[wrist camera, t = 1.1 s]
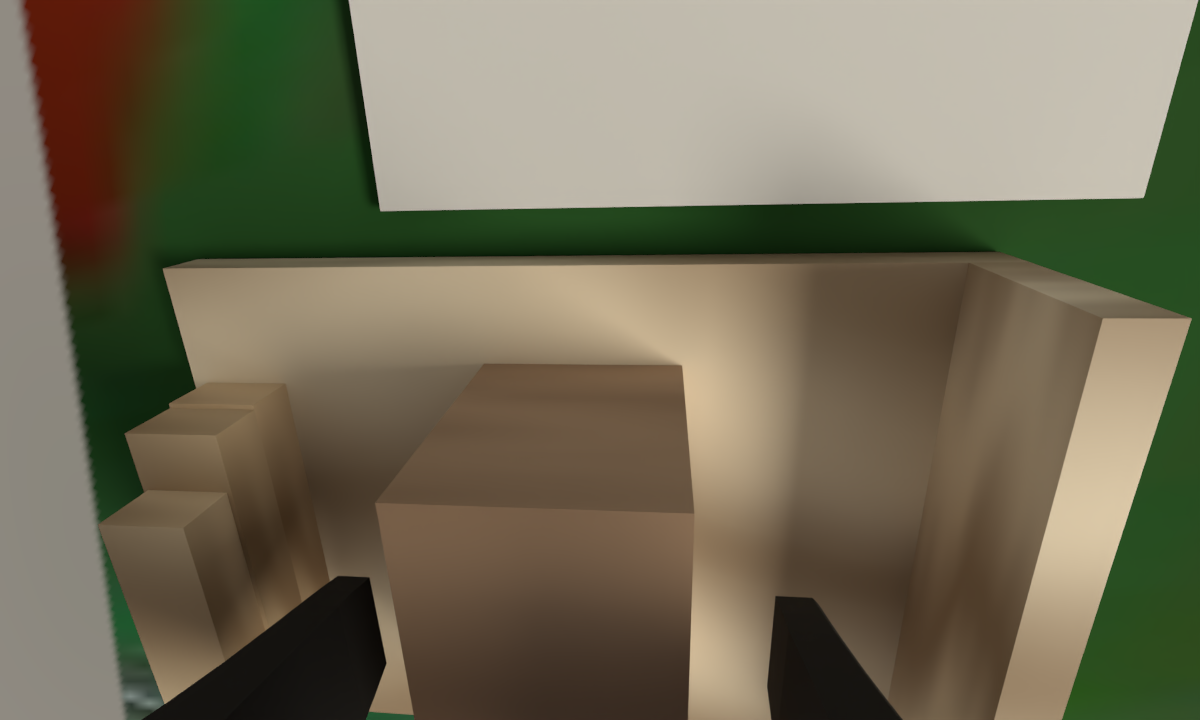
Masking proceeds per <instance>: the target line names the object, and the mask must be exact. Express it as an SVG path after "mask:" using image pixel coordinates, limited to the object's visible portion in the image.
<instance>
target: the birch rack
mask: <svg viewBox="0 0 1200 720" xmlns="http://www.w3.org/2000/svg"><path fill="white" fill-rule="evenodd" d="M163 272H164V275H165V279H166V282H167V286H168V290H169V293H170V297H171V300H172V304H173V307H174V311H175V314H176V318H177V322H178V325H179V329H180V332H181V336H182V339H183V343H184V347H185V350H186V354H187V357H188V361H189V364H190V368H191V372H192V375H193V379H194V382H195V386H196V389H197V388H198V387H200V386H202V385H204V384H206V383H274V384H286V388H287V392H288V397H289V401H290V405H291V410H292V414H293V419H294V423H295V428H296V432H297V437H298V441H299V446H300V450H301V454H302V459H303V463H304V468H305V472H306V477H307V481H308V486H309V490H310V495H311V499H312V504H313V508H314V512H315V517H316V521H317V526H318V530H319V535H320V539H321V544H322V548H323V553H324V557H325V561H326V566H327V570H328V575H329V579H330V581H331V580H333V579H334V578H335V577H337V576H353V577H370V582H371V587H372V592H373V597H374V602H375V607H376V612H377V617H378V622H379V627H380V632H381V637H382V642H383V647H384V652H385V657H386V662H387V664H386V667H385V669H384V672H383V675H382V678H381V680H380V683H379V686H378V689H377V692H376V694H375V697H374V700H373V702H372V705H371V707H370V710H369V712H382V713H396V714H410V715H414V714H413V708H412V703H411V697H410V692H409V687H408V681H407V676H406V670H405V665H404V659H403V654H402V648H401V643H400V637H399V632H398V626H397V621H396V615H395V610H394V604H393V599H392V593H391V588H390V582H389V577H388V571H387V566H386V560H385V555H384V549H383V544H382V538H381V533H380V527H379V522H378V516H377V511H376V506H375V502H376V501H377V500H378V499H379V497H380V496H381V495H382V493H383V492H384V491H385V490H386V488H387V487H388V486H389V485H390V483H391V482H392V481H393V479H394V478H395V477H396V476H397V474H398V473H399V472H400V470H401V469H402V468H403V467H404V465H405V464H406V463H407V462H408V460H409V459H410V458H411V456H412V455H413V454H414V453H415V451H416V450H417V449H418V447H419V446H420V445H421V444H422V442H423V441H424V440H425V439H426V437H427V436H428V435H429V433H430V432H431V431H432V430H433V428H434V427H435V426H436V424H437V423H438V422H439V421H440V419H441V418H442V417H443V416H444V414H445V413H446V412H447V410H448V409H449V408H450V407H451V405H452V404H453V403H454V401H455V400H456V399H457V398H458V396H459V395H460V394H461V393H462V391H463V390H464V389H465V387H466V386H467V385H468V384H469V382H470V381H471V380H472V378H473V377H474V376H475V375H476V373H477V372H478V371H479V370H480V368H481V367H482V366H483V364H581V365H682V369H683V381H684V393H685V405H686V417H687V429H688V441H689V454H690V466H691V478H692V490H693V502H694V545H693V577H692V608H691V640H690V671H689V703H688V720H771V714H770V706H769V698H768V690H767V681H768V670H769V660H770V649H771V638H772V627H773V617H774V606H775V596H786V597H807V598H813V599H814V600H815V601H816V602H817V603H818V604H819V605H820V607H821V608H822V610H823V612H824V613H825V615H826V616H827V618H828V619H829V621H830V622H831V623H832V625H833V626H834V628H835V629H836V631H837V632H838V634H839V635H840V637H841V638H842V639H843V641H844V642H845V644H846V645H847V647H848V648H849V649H850V651H851V652H852V654H853V655H854V656H855V658H856V659H857V661H858V662H859V663H860V665H861V666H862V667H863V669H864V670H865V671H866V673H867V674H868V676H869V677H870V678H871V680H872V681H873V682H874V684H875V685H876V686H877V687H878V689H879V690H880V691H881V693H882V694H883V695H884V696H885V698H886V699H887V700H888V701H889V703H890V704H891V705H892V707H893V708H894V709H895V710H896V712H897V713H898V714H899V716H900V717H901V718H902V719H903V720H1062V717H1063V714H1064V711H1065V708H1066V705H1067V702H1068V699H1069V696H1070V693H1071V689H1072V686H1073V683H1074V680H1075V677H1076V674H1077V671H1078V668H1079V665H1080V662H1081V659H1082V656H1083V652H1084V649H1085V646H1086V643H1087V640H1088V637H1089V634H1090V631H1091V628H1092V625H1093V622H1094V618H1095V615H1096V612H1097V609H1098V606H1099V603H1100V600H1101V597H1102V594H1103V591H1104V588H1105V585H1106V581H1107V578H1108V575H1109V572H1110V569H1111V566H1112V563H1113V560H1114V557H1115V554H1116V551H1117V548H1118V544H1119V541H1120V538H1121V535H1122V532H1123V529H1124V526H1125V523H1126V520H1127V517H1128V514H1129V511H1130V507H1131V504H1132V501H1133V498H1134V495H1135V492H1136V489H1137V486H1138V483H1139V480H1140V477H1141V473H1142V470H1143V467H1144V464H1145V461H1146V458H1147V455H1148V452H1149V449H1150V446H1151V443H1152V440H1153V436H1154V433H1155V430H1156V427H1157V424H1158V421H1159V418H1160V415H1161V412H1162V409H1163V406H1164V403H1165V399H1166V396H1167V393H1168V390H1169V387H1170V384H1171V381H1172V378H1173V375H1174V372H1175V369H1176V366H1177V362H1178V359H1179V356H1180V353H1181V350H1182V347H1183V344H1184V341H1185V338H1186V335H1187V332H1188V328H1189V325H1190V322H1191V319H1192V318H1189V317H1186V316H1183V315H1180V314H1177V313H1174V312H1171V311H1169V310H1166V309H1163V308H1160V307H1157V306H1154V305H1151V304H1148V303H1145V302H1143V301H1140V300H1137V299H1134V298H1131V297H1128V296H1125V295H1122V294H1120V293H1117V292H1114V291H1111V290H1108V289H1105V288H1102V287H1099V286H1097V285H1094V284H1091V283H1088V282H1085V281H1082V280H1079V279H1076V278H1073V277H1071V276H1068V275H1065V274H1062V273H1059V272H1056V271H1053V270H1050V269H1048V268H1045V267H1042V266H1039V265H1036V264H1033V263H1030V262H1027V261H1025V260H1022V259H1019V258H1016V257H1013V256H1010V255H1007V254H1004V253H1001V252H926V253H817V254H708V255H599V256H489V257H380V258H271V259H197V260H193V261H189V262H185V263H182V264H178V265H174V266H170V267H167V268H163Z"/></svg>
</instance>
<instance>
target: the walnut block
mask: <svg viewBox="0 0 1200 720" xmlns="http://www.w3.org/2000/svg"><path fill="white" fill-rule="evenodd" d="M375 506H376V511H377V516H378V522H379V527H380V533H381V538H382V544H383V549H384V555H385V560H386V566H387V571H388V577H389V582H390V588H391V593H392V599H393V604H394V610H395V615H396V621H397V626H398V632H399V637H400V643H401V648H402V654H403V659H404V665H405V670H406V676H407V681H408V687H409V692H410V697H411V703H412V708H413V714H414V719H415V720H688V703H689V671H690V640H691V608H692V577H693V545H694V502H693V490H692V478H691V466H690V454H689V441H688V429H687V417H686V405H685V393H684V381H683V369H682V365H581V364H483V366H482V367H481V368H480V370H479V371H478V372H477V373H476V375H475V376H474V377H473V378H472V380H471V381H470V382H469V384H468V385H467V386H466V387H465V389H464V390H463V391H462V393H461V394H460V395H459V396H458V398H457V399H456V400H455V401H454V403H453V404H452V405H451V407H450V408H449V409H448V410H447V412H446V413H445V414H444V416H443V417H442V418H441V419H440V421H439V422H438V423H437V424H436V426H435V427H434V428H433V430H432V431H431V432H430V433H429V435H428V436H427V437H426V439H425V440H424V441H423V442H422V444H421V445H420V446H419V447H418V449H417V450H416V451H415V453H414V454H413V455H412V456H411V458H410V459H409V460H408V462H407V463H406V464H405V465H404V467H403V468H402V469H401V470H400V472H399V473H398V474H397V476H396V477H395V478H394V479H393V481H392V482H391V483H390V485H389V486H388V487H387V488H386V490H385V491H384V492H383V493H382V495H381V496H380V497H379V499H378V500H377V501H376V502H375Z"/></svg>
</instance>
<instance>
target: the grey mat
mask: <svg viewBox="0 0 1200 720" xmlns="http://www.w3.org/2000/svg"><path fill="white" fill-rule="evenodd" d="M1197 2H1198V0H349V5H350V12H351V18H352V25H353V32H354V38H355V45H356V52H357V58H358V65H359V72H360V78H361V85H362V92H363V98H364V105H365V112H366V119H367V125H368V132H369V139H370V145H371V152H372V159H373V165H374V172H375V179H376V185H377V192H378V199H379V205H380V211H415V210H473V209H531V208H589V207H647V206H705V205H763V204H821V203H879V202H938V201H996V200H1054V199H1112V198H1144V195H1145V191H1146V187H1147V184H1148V180H1149V177H1150V173H1151V169H1152V166H1153V162H1154V158H1155V155H1156V151H1157V148H1158V144H1159V140H1160V137H1161V133H1162V129H1163V126H1164V122H1165V119H1166V115H1167V111H1168V108H1169V104H1170V100H1171V97H1172V93H1173V90H1174V86H1175V82H1176V79H1177V75H1178V71H1179V68H1180V64H1181V61H1182V57H1183V53H1184V50H1185V46H1186V42H1187V39H1188V35H1189V31H1190V28H1191V24H1192V21H1193V17H1194V13H1195V10H1196V6H1197Z"/></svg>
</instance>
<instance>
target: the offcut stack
mask: <svg viewBox="0 0 1200 720" xmlns="http://www.w3.org/2000/svg"><path fill="white" fill-rule="evenodd" d="M169 406H170V409H168V410H166V411H164V412H162V413H161V414H159V415H157V416H155V417H153V418H152V419H150V420H148V421H146V422H144V423H142V424H141V425H139V426H137V427H135V428H133V429H132V430H130V431H128V432H126V433H124V434H125V437H126V439H127V442H128V445H129V448H130V451H131V454H132V457H133V460H134V463H135V466H136V469H137V472H138V475H139V478H140V481H141V484H142V487H143V490H144V493H143V494H142V495H140V496H139V497H137V498H136V499H135V500H133V501H132V502H130V503H129V504H127V505H126V506H124V507H123V508H122V509H120V510H119V511H117V512H116V513H114V514H113V515H111V516H110V517H108V518H107V519H106V520H104V521H103V522H101V523H100V524H98V527H99V530H100V532H101V535H102V538H103V540H104V543H105V546H106V548H107V551H108V554H109V556H110V559H111V562H112V564H113V567H114V570H115V572H116V575H117V578H118V580H119V583H120V586H121V588H122V591H123V594H124V597H125V599H126V602H127V605H128V607H129V610H130V613H131V615H132V618H133V621H134V623H135V626H136V629H137V631H138V634H139V637H140V639H141V642H142V645H143V647H144V650H145V653H146V655H147V658H148V661H149V663H150V666H151V669H152V672H153V674H154V677H155V680H156V682H157V685H158V688H159V690H160V693H161V696H162V698H163V701H164V704H166V703H167V702H168V701H170V700H171V699H173V698H174V697H175V696H177V695H178V694H180V693H181V692H183V691H184V690H185V689H187V688H188V687H190V686H191V685H192V684H194V683H195V682H197V681H198V680H199V679H201V678H202V677H204V676H205V675H206V674H208V673H209V672H211V671H212V670H213V669H215V668H216V667H218V666H219V665H221V664H222V663H223V662H225V661H226V660H227V659H229V658H230V657H231V656H233V655H234V654H235V653H237V652H238V651H239V650H240V649H242V648H243V647H244V646H246V645H247V644H248V643H250V642H251V641H252V640H254V639H255V638H256V637H258V636H259V635H260V634H262V633H263V632H264V631H266V630H267V629H268V628H269V627H271V626H272V625H273V624H275V623H276V622H277V621H279V620H280V619H281V618H282V617H284V616H285V615H286V614H288V613H289V612H290V611H291V610H293V609H294V608H295V607H297V606H298V605H299V604H300V603H302V602H303V601H304V600H306V599H307V598H308V597H310V596H311V595H312V594H314V593H315V592H316V591H317V590H319V589H320V588H322V587H323V586H324V585H326V584H327V583H328V582H330V579H329V575H328V570H327V566H326V561H325V557H324V553H323V548H322V544H321V539H320V535H319V530H318V526H317V521H316V517H315V512H314V508H313V504H312V499H311V495H310V490H309V486H308V481H307V477H306V472H305V468H304V463H303V459H302V454H301V450H300V446H299V441H298V437H297V432H296V428H295V423H294V419H293V414H292V410H291V405H290V401H289V397H288V392H287V388H286V384H274V383H206V384H204V385H202V386H200V387H198V388H197V389H195V390H193V391H191V392H189V393H187V394H186V395H184V396H182V397H180V398H178V399H176V400H175V401H173V402H171V403H169Z"/></svg>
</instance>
